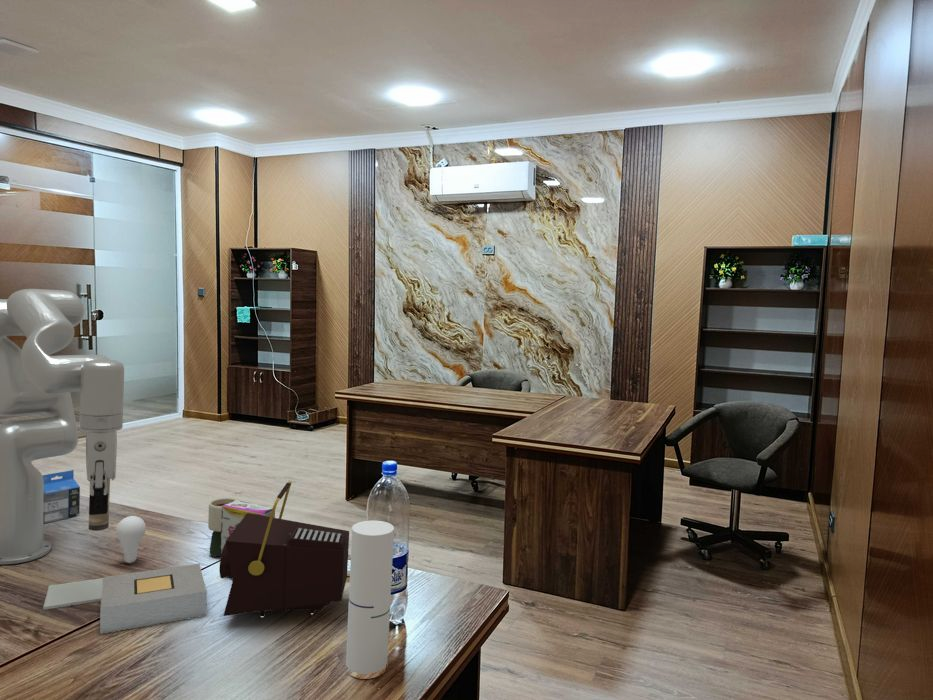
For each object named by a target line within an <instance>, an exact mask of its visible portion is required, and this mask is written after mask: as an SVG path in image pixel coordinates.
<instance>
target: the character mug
mask: <svg viewBox="0 0 933 700" xmlns="http://www.w3.org/2000/svg"><path fill="white" fill-rule="evenodd" d="M235 500H238V501H240V500H239V498H234V497H222V498H221V497H220V498H215V499H213V500H210V501H209V503H208V518H207V519H208V521H207V524H208V530H210V531H212V534H211V539H210V544H209V555H211V556H213V557H221V525H222V506H223V505H225V504H228V503H230V502H232V501H235Z"/></svg>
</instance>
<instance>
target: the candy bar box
mask: <svg viewBox="0 0 933 700" xmlns="http://www.w3.org/2000/svg"><path fill="white" fill-rule="evenodd" d="M238 500H239V499H238ZM238 500H235V501H232V502H230V503H228V504H225V505H223V506H222V525H221V553H222V550H223V547H224V545H225V543H226V540H227V538H228V537H229V536H230V534H231V533H232V532H233V531H234V529H235V528H236V527H237V526H238V524H239V523H240V522H241V520H242V519H243V518H244V517H245V515H246V514H247V513H250V514H256V515H261V516H267V517H270V515H271V512H272V508H273V506H272V507H271V506H267V505H262V504H258V503H257V504H256V503H251V502H247V501H241V500H239V501H238ZM273 518H276V511H275V512H274V515H273ZM220 559H221V557H220ZM220 559H219V560H220ZM229 578H231V579H232V576H230V577H229Z"/></svg>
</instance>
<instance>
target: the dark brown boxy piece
mask: <svg viewBox="0 0 933 700" xmlns="http://www.w3.org/2000/svg"><path fill="white" fill-rule="evenodd" d="M291 486H292V481H290V480H288V482H286V483H285V485H284V486H283V487H282V489H281V490H280V492H279V493H278V495H277V497H276V499H275V501H274V503H273V505H272V512H271V515H270V517H267V516H261V515H256V514H250V513H247V514H246V515H245V517H244V518H243V519H242V520H241V522H240V523H239V524H238V526H237V527H236V528H235V529H234V531H233V532H232V533H231V534H230V536H229V537H228V538H227V540H226V543H225V545H224V547H223V550H222V553H221V556H220V558H221V559H219V576H220V577H219V578H220V579H225V578H230V576H232V578H231V585H230V589H229V592H228V596H227V601H226V604H225V607H224V611H223V615H222V617H226V616H234V615H243V614H251V613H258V612H259V617H260V616H264V615H266V612H271V611H273V612H274V611H275V612H278V611H279V612H280V611H281V612H283V611H309V614H310V613H314V614H315V611H321V610H322V609H324V608H325V607H326V606H328V605H330V604H331V603H337V602H342V599H343V596H344V591H345V587H346V582H347V578H348V566H349V547H350V546H349V545H350V531H349V530H345V529H340V528H335V527H328V526H323V525H317V524H311V523H307V522H306V523H304V522H300V521H296V520H295V521H294V520H289V519H285V518H284V519H283V516H284V514H283V513H284V511H285V508H286V507H285V506H286V504H287V500H288V497H289V494H290V493H289V491H291ZM283 497H284V498H283ZM282 498H283V502H282V506H281V509H280V512H279V517H278V518H277V517H275V518H273V515H274V512H275V513H276V509H277V505H278V503H279V501H280V500H281V499H282ZM264 617H265V616H264Z"/></svg>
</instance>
